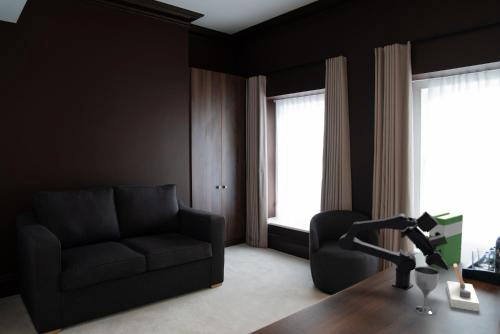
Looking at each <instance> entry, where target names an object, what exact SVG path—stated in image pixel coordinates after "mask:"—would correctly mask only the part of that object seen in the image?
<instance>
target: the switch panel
mask: <svg viewBox="0 0 500 334" xmlns="http://www.w3.org/2000/svg"><path fill="white" fill-rule="evenodd" d="M464 284H465V288H464V289H463V288H461V286H460V283H459V282H457V281H449V280H446V291H447V295H448V300H449V305H450V308H457V309H463V310H468V311H475V312H480V300H479V299H478V296H477V293H476V291H475V288H474V286H473V283H472V284H471V283H465V282H464ZM460 290H466V291H469V292H471V297H469V298H466V297H462V296H460Z"/></svg>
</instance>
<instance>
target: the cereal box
mask: <svg viewBox="0 0 500 334" xmlns="http://www.w3.org/2000/svg"><path fill="white" fill-rule="evenodd" d="M432 216H433V217H434V218H435V219H436V220H437V222H438V223H439V224H438V225H437V226H436V227H434V228H433V229H432V230H430V231H429V232H428V237H429V238H431V237H433V236H435V232H439V233H441V234H442V233H443V234H444V235H445V237H446V239H447V242H448V243H447V244H445V245H444V244H443V245H440V246H439V247H438V246H437V248H436V249H435V250H437V251H438V250H440V249H441V253H442V258H443V259H444V261H445V263H446V264H447V266H448V267H451V266H454V264H456V263H457V264H460V263H461V261H462V258H461V257H462V241H463V240H462V239H463V238H462V237H463V222H464V220H463V218H464V215H463V214H458V215H455V214H451V213H450V212H444V213H440V214H436V215H432ZM431 267H435V268H437V269H442V270H444V269H443V268H441V267H439V266H437V265H434V264H432V265H431Z"/></svg>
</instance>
